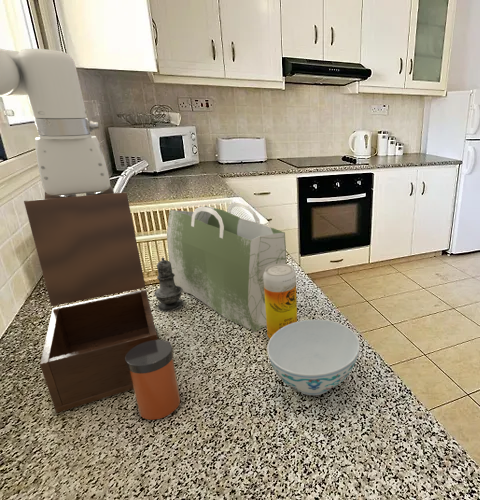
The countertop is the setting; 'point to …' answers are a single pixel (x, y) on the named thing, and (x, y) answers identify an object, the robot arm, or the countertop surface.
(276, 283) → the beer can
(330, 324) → the chinaware
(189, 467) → the countertop surface
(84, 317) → the chest
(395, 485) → the countertop surface
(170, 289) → the grey chess piece
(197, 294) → the grocery bag
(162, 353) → the jar
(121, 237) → the chest lid
